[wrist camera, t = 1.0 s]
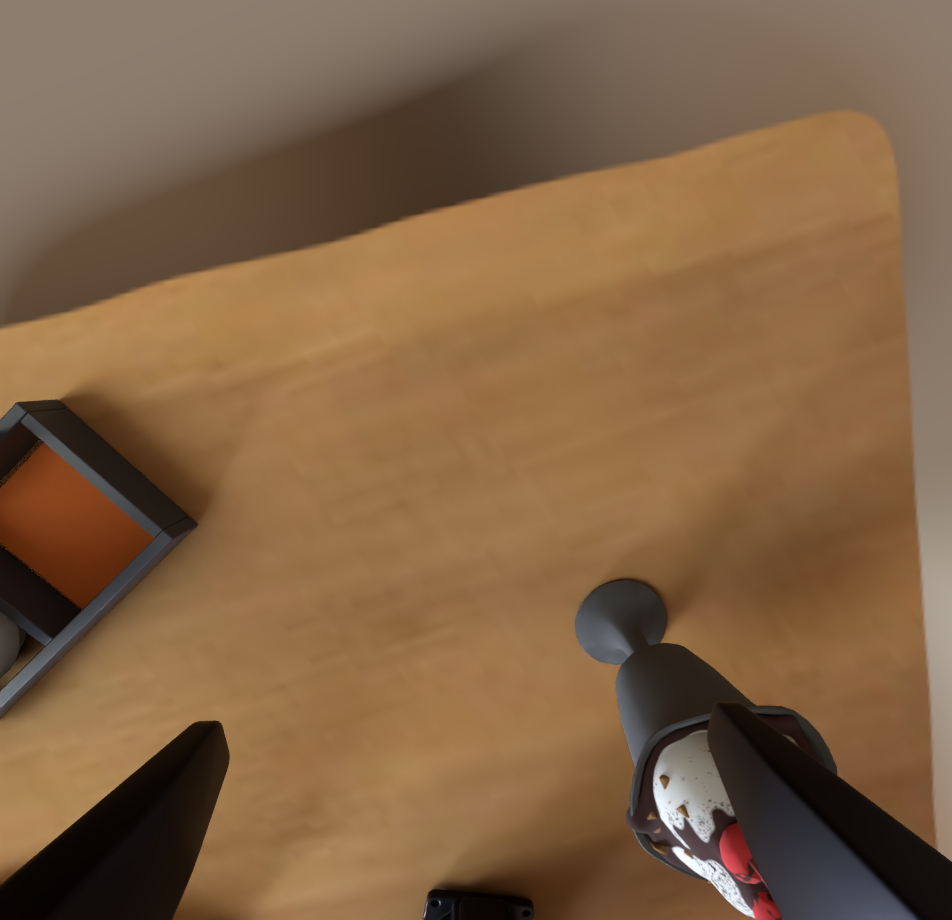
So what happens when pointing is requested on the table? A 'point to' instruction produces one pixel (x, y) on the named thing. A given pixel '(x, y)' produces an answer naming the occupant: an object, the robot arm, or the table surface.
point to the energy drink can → (9, 642)
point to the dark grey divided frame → (7, 440)
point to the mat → (66, 527)
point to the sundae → (680, 743)
